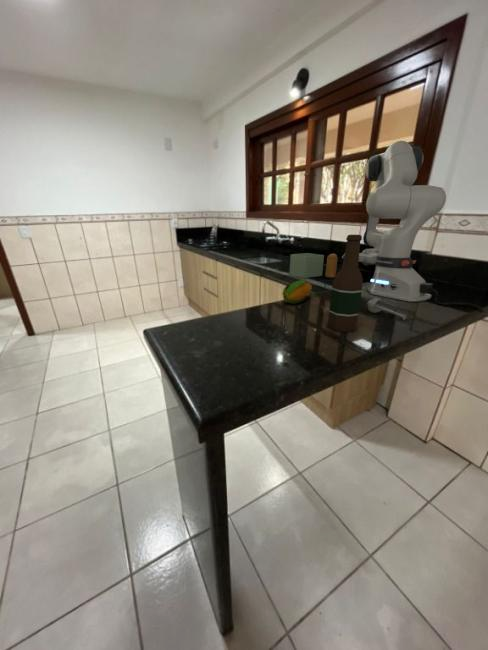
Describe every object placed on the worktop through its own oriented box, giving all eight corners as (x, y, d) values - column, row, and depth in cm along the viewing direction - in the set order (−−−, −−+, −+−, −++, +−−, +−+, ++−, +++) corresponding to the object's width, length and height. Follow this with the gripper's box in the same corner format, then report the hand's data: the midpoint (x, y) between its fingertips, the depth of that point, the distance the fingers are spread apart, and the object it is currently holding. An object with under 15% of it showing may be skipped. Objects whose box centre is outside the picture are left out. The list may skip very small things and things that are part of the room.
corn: (278, 283, 88) (301, 274, 104) (276, 304, 91) (299, 292, 107) (298, 287, 85) (319, 277, 100) (295, 309, 88) (316, 296, 103)
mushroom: (404, 309, 74) (366, 294, 82) (396, 324, 75) (359, 308, 84) (413, 310, 78) (376, 296, 87) (406, 324, 80) (370, 309, 88)
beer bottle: (323, 322, 76) (333, 234, 67) (350, 322, 75) (364, 234, 67) (331, 332, 68) (343, 235, 60) (361, 332, 68) (378, 235, 59)
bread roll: (337, 276, 139) (340, 253, 135) (330, 277, 137) (333, 254, 132) (330, 275, 143) (332, 252, 139) (323, 276, 141) (325, 253, 137)
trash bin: (322, 275, 141) (324, 255, 137) (304, 278, 136) (305, 256, 132) (306, 272, 152) (308, 253, 148) (289, 274, 146) (290, 254, 142)
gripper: (355, 249, 153) (336, 250, 149) (385, 252, 136) (364, 254, 131) (354, 260, 156) (335, 261, 151) (382, 265, 138) (362, 267, 133)
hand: (349, 258), depth 141 cm, fingers open, 8 cm apart
